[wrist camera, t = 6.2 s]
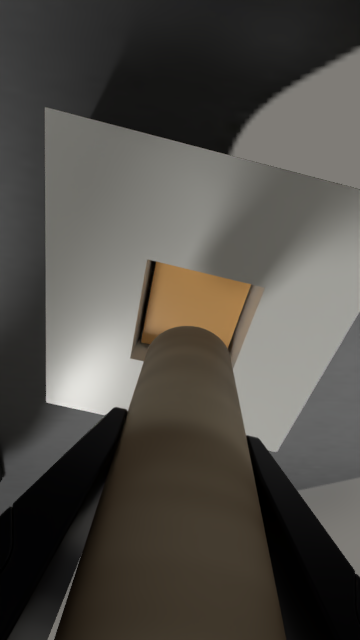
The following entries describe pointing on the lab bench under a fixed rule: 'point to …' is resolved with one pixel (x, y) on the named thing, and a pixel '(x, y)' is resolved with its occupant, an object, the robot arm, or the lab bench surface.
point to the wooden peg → (178, 512)
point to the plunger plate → (193, 302)
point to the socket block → (191, 264)
